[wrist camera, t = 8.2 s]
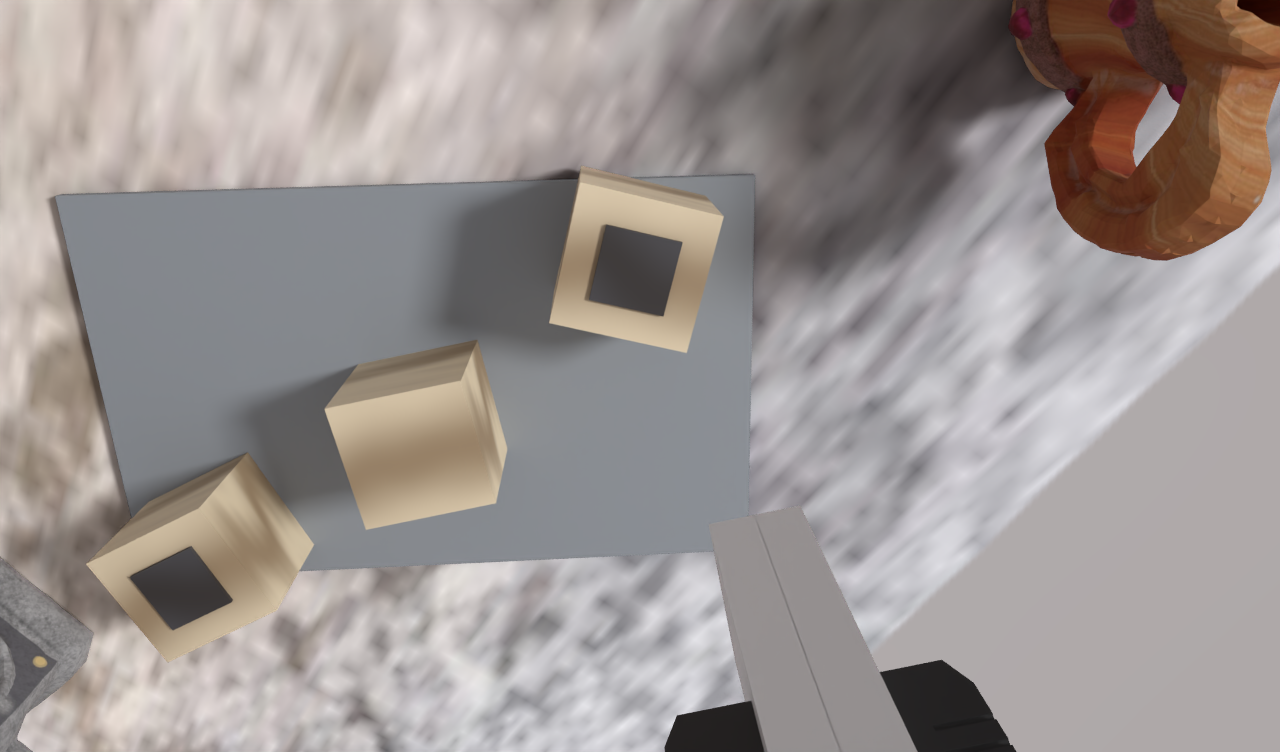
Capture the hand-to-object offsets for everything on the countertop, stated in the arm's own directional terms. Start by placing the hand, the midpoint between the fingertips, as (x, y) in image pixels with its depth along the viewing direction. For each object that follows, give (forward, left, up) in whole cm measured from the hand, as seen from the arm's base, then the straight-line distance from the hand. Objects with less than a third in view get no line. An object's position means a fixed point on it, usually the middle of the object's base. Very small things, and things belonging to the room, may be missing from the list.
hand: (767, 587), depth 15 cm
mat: (+7, -11, -30) cm, 33 cm away
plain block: (+8, -11, -30) cm, 33 cm away
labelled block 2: (0, -1, -30) cm, 30 cm away
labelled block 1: (+14, -22, -30) cm, 40 cm away
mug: (-8, +19, -31) cm, 37 cm away
